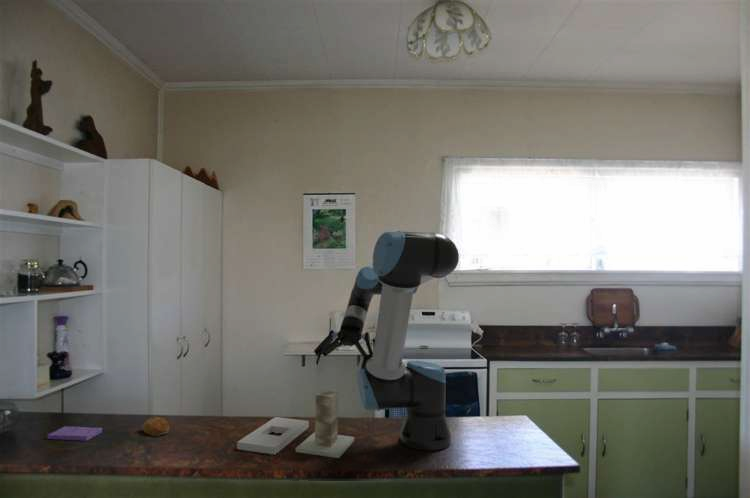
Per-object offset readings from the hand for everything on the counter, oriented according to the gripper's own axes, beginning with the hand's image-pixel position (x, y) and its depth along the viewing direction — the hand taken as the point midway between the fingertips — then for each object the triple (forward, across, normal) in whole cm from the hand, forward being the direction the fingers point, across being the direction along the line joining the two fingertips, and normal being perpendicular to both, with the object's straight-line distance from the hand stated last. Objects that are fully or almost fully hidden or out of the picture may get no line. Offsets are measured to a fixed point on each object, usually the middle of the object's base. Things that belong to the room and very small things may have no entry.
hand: (337, 376), depth 138 cm
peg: (+18, 0, -6) cm, 19 cm away
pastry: (+23, +54, -3) cm, 59 cm away
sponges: (+31, +75, +4) cm, 81 cm away
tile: (+19, 0, -6) cm, 20 cm away
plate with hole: (+18, +17, -7) cm, 26 cm away
